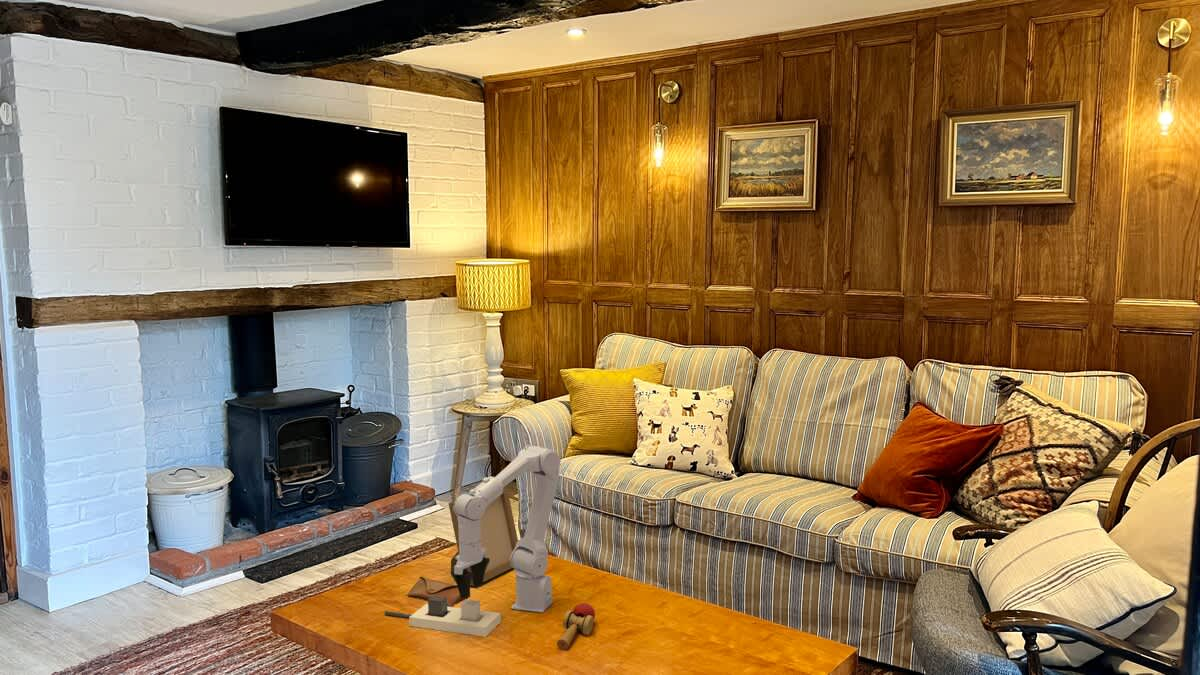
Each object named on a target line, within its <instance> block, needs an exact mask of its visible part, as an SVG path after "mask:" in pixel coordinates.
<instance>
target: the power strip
mask: <svg viewBox="0 0 1200 675" xmlns="http://www.w3.org/2000/svg"><path fill="white" fill-rule="evenodd" d="M384 615H385V616H389V617H399V618H406V619H408V620H409V623H408V624H409V627H412V626H413V627H412V628H419V627H420V629H427V630H433V629H434V630H435V631H440V630H441V631H440V632H449V633H456V634H464V635H469V634H470V635H469V636H477V637H484V638H486V637H487V636H488V635H489V634H490V633H491V632H493V630H494V629H496V628H497V627H498V626H499V625H498V624H501V622H502V621H501V612H500V613H499V612H493V611H486V610H484V611H483V610H480V616H481V620H480V621H479V622H473V621H466V620H461V607H456V606H454V607H450V606H447V597H443V596H435V595H433V596H432V597H431V598H429V599H428V601H427V603H425V604H424V605H422V607H420V608H419V609H417V610H416V611H415V612H413V613H412V614H410V613H402V612H396V611H390V610H389V611H388V610H385V611H384ZM497 625H498V626H497ZM496 626H497V627H496Z"/></svg>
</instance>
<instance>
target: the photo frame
mask: <svg viewBox="0 0 1200 675" xmlns="http://www.w3.org/2000/svg"><path fill="white" fill-rule="evenodd" d="M507 485H508V484H507ZM507 485H506V486H504V487H503V493H502V494H501V495H500V496H499V497H498V498H496V499H495V500H494V501H493V502H491V503H490V504H489V505H488V506H487V508H486V509H485V512H484V514H483V516H482V517H480V519H481V548H485V549H486V556H485V557H484V558H489V563H488V565H487V568H486V571H485V574H484V579H483V583H484V582H487V581H488V580H490V579H493V578H494V577H497V576H499V575H500V574H503V573H504V572H507V571H509V570H511V569H514V568H513V567H512V566H511V564H510V556H511V554H512V552H513V550H514V549H515V547H516V544H517V542H518V541H519V540H518V539H519V538H518V534H517V529H516V524H515V519H514V514H513V509H512V505H511V500H510V495H509V490H508V486H507ZM455 501H456V500H454V501H451V502H448V508H449V513H450V518H451V523H452V526H453V527H452V528H453V533H454V538H455V542H456V547H457V552H456V553H455V554H454V555H453V556H452V558H451V559H450V572H451V571H453V570H454V566H456V564H457V561H458V560H456V559H455V557H456V556H457V555H459V530H458V520H457V515H456V513H455V512H454V510H453V506H454V505H455ZM467 570H468V572H471V568H470V566H469V567H468V568H467ZM470 587H475V586H474V584H473V579H471V584H470Z"/></svg>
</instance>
